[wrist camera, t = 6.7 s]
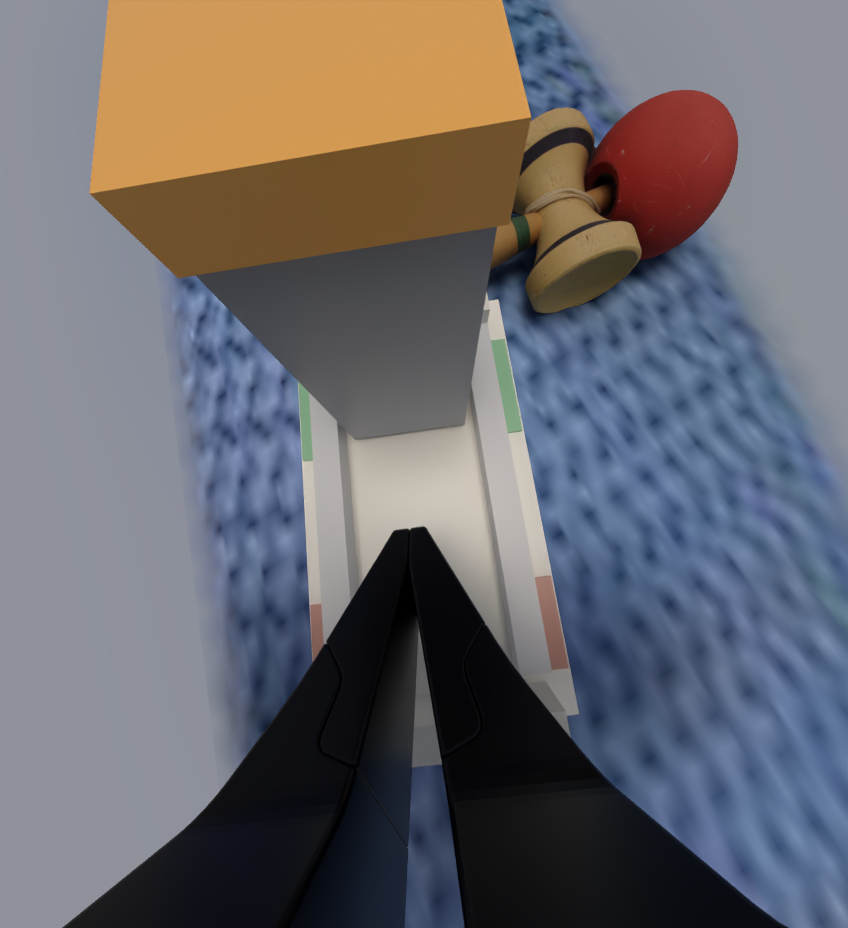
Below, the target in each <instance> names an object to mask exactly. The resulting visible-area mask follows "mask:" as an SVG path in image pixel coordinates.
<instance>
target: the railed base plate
mask: <svg viewBox="0 0 848 928" xmlns="http://www.w3.org/2000/svg"><path fill="white" fill-rule="evenodd" d="M298 391H299V410H300V430H301V449H302V468H303V488H304V507H305V527H306V546H307V565H308V585H309V604H310V624H311V643H312V662H313V661H314V660H315V658H316V657H317V655H318V653H319V652H320V650H321V648H322V647H323V645H324V644H327V643H326V640H327V639H328V637H329V635H330V634H331V632H332V631H333V629H334V627H335V626H336V624H337V622H338V621H339V619H340V617H341V616H342V614H343V613H344V611H345V609H346V608H347V606H348V604H349V603H350V601H351V599H352V598H353V596H354V595H355V593H356V591H357V590H358V588H359V586H360V585H361V583H362V581H363V580H364V578H365V576H366V575H367V573H368V572H369V570H370V568H371V567H372V565H373V563H374V562H375V560H376V558H377V557H378V555H379V554H380V552H381V550H382V549H383V547H384V545H385V544H386V542H387V540H388V539H389V537H390V536H391V534H392V532H393V531H394V530H398V529H405V528H408V529H409V530H410V529H411V528H413V527H421V526H425V527H426V528H427V529H428V531H429V533H430V534H431V536H432V537H433V539H434V541H435V542H436V544H437V546H438V547H439V549H440V550H441V552H442V554H443V555H444V557H445V558H446V560H447V562H448V563H449V565H450V567H451V568H452V570H453V571H454V573H455V575H456V576H457V578H458V579H459V581H460V583H461V584H462V586H463V588H464V589H465V591H466V592H467V594H468V596H469V597H470V599H471V600H472V602H473V604H474V605H475V607H476V609H477V610H478V612H479V613H480V615H481V617H482V618H483V620H484V621H485V625H487V626H488V628H489V629H490V631H491V632H492V634H493V636H494V637H495V639H496V640H497V642H498V643H499V645H500V646H501V648H502V649H503V651H504V652H505V654H506V655H507V657H508V658H509V660H510V661H511V663H512V664H513V665H514V667H515V668H516V669H517V671H518V672H519V673H520V675H521V676H522V677H523V679H524V680H525V681H526V683H527V684H528V685H529V686H530V688H531V689H532V690H533V691H534V693H535V694H536V695H537V696H538V698H539V699H540V700H541V701H542V703H543V704H544V705H545V706H546V708H547V709H548V710H549V711H550V712H551V714H552V715H553V716H554V717H555V719H556V720H557V721H558V722H559V724H560V725H561V726H562V727H563V729H564V730H565V731H566V732H567V734H568V735H569V736H570V731H569V725H568V720H567V716H569V715H579V711H578V706H577V700H576V695H575V690H574V685H573V680H572V675H571V670H570V665H569V659H568V654H567V649H566V644H565V639H564V634H563V629H562V624H561V619H560V613H559V608H558V603H557V598H556V593H555V588H554V583H553V578H552V572H551V567H550V562H549V557H548V552H547V547H546V542H545V537H544V532H543V526H542V521H541V516H540V511H539V506H538V501H537V496H536V491H535V485H534V480H533V475H532V470H531V465H530V460H529V455H528V450H527V445H526V439H525V434H524V429H523V424H522V419H521V414H520V409H519V404H518V398H517V393H516V388H515V383H514V378H513V373H512V368H511V363H510V358H509V352H508V347H507V342H506V337H505V332H504V327H503V322H502V317H501V311H500V306H499V301H498V300H492V301H488V295H487V291H486V298H485V304H484V310H483V316H482V322H481V328H480V334H479V340H478V346H477V352H476V358H475V364H474V370H473V376H472V382H471V388H470V394H469V400H468V406H467V413H466V419H465V424H462V425H455V426H448V427H441V428H434V429H426V430H419V431H412V432H405V433H398V434H391V435H384V436H377V437H369V438H362V439H354V438H353V437H352V436H351V435H350V434H349V433H348V432H347V431H346V430H345V429H344V428H343V427H342V426H341V425H340V424H339V423H338V422H337V421H336V420H335V419H334V418H333V417H332V416H331V415H330V413H329V412H328V411H327V410H326V409H325V408H324V407H323V406H322V405H321V404H320V403H319V402H318V401H317V400H316V399H315V398H314V397H313V396H312V395H311V394H310V393H309V392H308V391H307V390H306V389H305V388H304V387H303V386H302V385H301V384H300V383H299V381H298ZM570 737H571V736H570ZM432 765H442V760H441V756H440V750H439V745H438V739H437V733H436V727H435V721H434V715H433V709H432V703H431V697H430V691H429V685H428V679H427V673H426V667H425V661H424V655H423V649H422V643H421V638H420V632H419V633H418V654H417V675H416V695H415V716H414V737H413V757H412V768H413V767H422V766H432Z"/></svg>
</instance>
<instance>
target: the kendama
mask: <svg viewBox="0 0 848 928" xmlns="http://www.w3.org/2000/svg"><path fill="white" fill-rule="evenodd" d="M737 153H738V136H737V130H736V127H735V123H734V120H733V118H732V116H731V114H730V113H729V111H728V110H727V108H726V107H725V106H724V105H723V104H722V103H721V102H720V101H719V100H717V99H716V98H714V97H712V96H711V95H709V94H706V93H703V92H700V91H694V90H679V91H671V92H667V93H664V94H661V95H658V96H655V97H653V98H651V99H649V100H647V101H645V102H644V103H642V104H640V105H638V106H637V107H635V108H634V109H632V110H631V111H630V112H628V113H627V114H626V115H625V116H624V117H623V118H621V119H620V120H619V121H618V122H617V123H616V124H615V125H614V126H613V127H612V128H611V129H610V131H609V132H608V133H607V134H606V135H605V137H604V138H603V140H602V141H601V142H600V144H599V145H598V147H597V148H595V147H594V135H593V132H592V130H591V128H590V126H589V124H588V122H587V120H586V118H585V117H584V115H583V114H582V113H581V112H580V111H578V110H575V109H573V108H572V109H570V108H557V109H554V110H551V111H548V112H546V113H543V114H542V115H540V116H538V117H537V118H535V119H534V120H532V121H531V122H530V126H529V131H528V136H527V141H526V145H525V150H524V155H523V160H522V165H521V170H520V175H519V180H518V185H517V190H516V195H515V199H514V204H513V209H512V213H515V214H519V215H521V216H518V217H513V218H511V219H510V224H509V225H504V226H498V227H497V231H496V237H495V243H494V249H493V255H492V261H491V267H490V270H491V269H493V268H495V267H496V266H498V265H500V264H502V263H503V262H505V261H507V260H509V259H511V258H512V257H513V256H515V255H517V254H519V253H520V252H522V251H524V250H526V249H527V248H529V247H531V246H533V245H534V244H536V243H537V253H536V259H535V263H534V266H533V268H532V271H531V273H530V275H529V276H528V278H527V280H526V285H525V288H526V291H527V294H528V296H529V299H530V302H531V304H532V306H533V309H534V310H535V311H536V312H539V313H555V312H558V311H560V310H563V309H565V308H569V307H574V306H579V305H581V304H583V303H585V302H588V301H590V300H592V299H594V298H595V297H597V296H599V295H601V294H602V293H604V292H606V291H607V290H609V289H610V288H612V287H613V286H614V285H616V284H617V283H618V282H620V281H621V280H622V279H623V278H624V277H626V276H627V275H628V274H629V273H630V272H631V270H632V269H633V268H634V267H635V266H636V264H637V263H638V261H639V260H645V259H649V258H652V257H655V256H658V255H660V254H662V253H665V252H667V251H669V250H671V249H672V248H674V247H676V246H678V245H679V244H681V243H682V242H683V241H685V240H686V239H687V238H689V237H690V236H691V235H692V234H693V233H695V232H696V231H697V230H698V229H699V228H700V227H701V226H702V225H703V224H704V223H705V221H706V220H707V219H708V218H709V217H710V216H711V214H712V213H713V212H714V210H715V209H716V208H717V206H718V205H719V203H720V201H721V200H722V198H723V196H724V194H725V193H726V190H727V188H728V187H729V184H730V182H731V179H732V176H733V174H734V170H735V165H736V161H737Z"/></svg>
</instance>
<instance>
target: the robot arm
mask: <svg viewBox="0 0 848 928" xmlns="http://www.w3.org/2000/svg"><path fill="white" fill-rule="evenodd" d="M419 632H420V638H421V643H422V649H423V655H424V661H425V667H426V673H427V679H428V685H429V691H430V697H431V703H432V709H433V715H434V721H435V727H436V733H437V739H438V745H439V750H440V756H441V760H442V768H443V774H444V781H445V787H446V793H447V800H448V806H449V814H450V821H451V828H452V836H453V843H454V851H455V858H456V866H457V874H458V881H459V889H460V896H461V904H462V911H463V919H464V926H465V928H788V927H787V926H785V925H783V924H781V923H780V922H778V921H777V920H775V919H774V918H773V917H771V916H770V915H769V914H767V913H766V912H765V911H763V910H762V909H761V908H759V907H758V906H757V905H755V904H754V903H753V902H751V901H750V900H749V899H748V898H747V897H746V896H744V895H743V894H742V893H741V892H740V891H738V890H737V889H736V888H735V887H734V886H732V885H731V884H730V883H729V882H728V881H726V880H725V879H724V878H723V877H722V876H721V875H719V874H718V873H717V872H716V871H715V870H713V869H712V868H711V867H710V866H709V865H707V864H706V863H705V862H704V861H703V860H701V859H700V858H699V857H698V856H697V855H696V854H694V853H693V852H692V851H691V850H690V849H688V848H687V847H686V846H685V845H684V844H682V843H681V842H680V841H679V840H678V839H676V838H675V837H674V836H673V835H672V834H671V833H669V832H668V831H667V830H666V829H665V828H663V827H662V826H661V825H660V824H659V823H657V822H656V821H655V820H654V819H653V818H651V817H650V816H649V815H648V814H647V813H646V812H644V811H643V810H642V809H641V808H640V807H638V806H637V805H636V804H635V803H634V802H632V801H631V800H630V799H629V798H628V797H626V796H625V795H624V794H623V793H622V792H621V791H619V790H618V789H617V788H616V787H615V786H614V785H613V784H612V783H611V782H610V781H609V780H608V779H607V778H606V777H605V776H604V775H603V774H602V773H601V772H600V771H599V770H598V769H597V768H596V767H595V766H594V765H593V763H592V762H591V761H590V760H589V759H588V758H587V757H586V756H585V754H584V753H583V752H582V751H581V750H580V748H579V747H578V746H577V745H576V744H575V742H574V741H573V740H572V739H571V737H570V736H569V735H568V734H567V732H566V731H565V730H564V729H563V727H562V726H561V725H560V724H559V722H558V721H557V720H556V719H555V717H554V716H553V715H552V714H551V712H550V711H549V710H548V709H547V708H546V706H545V705H544V704H543V703H542V701H541V700H540V699H539V698H538V696H537V695H536V694H535V693H534V691H533V690H532V689H531V688H530V686H529V685H528V684H527V683H526V681H525V680H524V679H523V677H522V676H521V675H520V673H519V672H518V671H517V669H516V668H515V667H514V665H513V664H512V663H511V661H510V660H509V658H508V657H507V655H506V654H505V652H504V651H503V649H502V648H501V646H500V645H499V643H498V642H497V640H496V639H495V637H494V636H493V634H492V632H491V631H490V629H489V628H488V626H487V625H485V621H484V620H483V618H482V617H481V615H480V613H479V612H478V610H477V609H476V607H475V605H474V604H473V602H472V600H471V599H470V597H469V596H468V594H467V592H466V591H465V589H464V588H463V586H462V584H461V583H460V581H459V579H458V578H457V576H456V575H455V573H454V571H453V570H452V568H451V567H450V565H449V563H448V562H447V560H446V558H445V557H444V555H443V554H442V552H441V550H440V549H439V547H438V546H437V544H436V542H435V541H434V539H433V537H432V536H431V534H430V533H429V531H428V529H427V528H426V527H425V526H421V527H413V528H411V529H410V530H409V529H408V528H405V529H398V530H394V531H393V532H392V534H391V536H390V537H389V539H388V540H387V542H386V544H385V545H384V547H383V549H382V550H381V552H380V554H379V555H378V557H377V558H376V560H375V562H374V563H373V565H372V567H371V568H370V570H369V572H368V573H367V575H366V576H365V578H364V580H363V581H362V583H361V585H360V586H359V588H358V590H357V591H356V593H355V595H354V596H353V598H352V599H351V601H350V603H349V604H348V606H347V608H346V609H345V611H344V613H343V614H342V616H341V617H340V619H339V621H338V622H337V624H336V626H335V627H334V629H333V631H332V632H331V634H330V635H329V637H328V639H327V640H326V643H327V644H324V645H323V647H322V648H321V650H320V652H319V653H318V655H317V657H316V658H315V660H314V661H313V663H312V664H311V666H310V668H309V669H308V671H307V672H306V674H305V675H304V677H303V678H302V680H301V681H300V683H299V685H298V686H297V687H296V689H295V690H294V692H293V693H292V694H291V696H290V697H289V699H288V700H287V701H286V703H285V704H284V706H283V707H282V708H281V710H280V711H279V713H278V714H277V715H276V717H275V718H274V719H273V721H272V722H271V723H270V725H269V726H268V727H267V729H266V730H265V731H264V733H263V734H262V735H261V737H260V738H259V740H258V741H257V742H256V744H255V745H254V746H253V748H252V749H251V750H250V752H249V753H248V754H247V756H246V757H245V758H244V760H243V761H242V762H241V764H240V765H239V766H238V768H237V769H236V771H235V772H234V773H233V775H232V776H231V777H230V779H229V780H228V781H227V783H226V784H225V785H224V786H223V788H222V789H221V790H220V792H219V793H218V794H217V795H216V796H215V798H214V799H213V800H212V801H211V802H210V803H209V804H208V806H207V807H206V808H205V809H204V810H203V811H202V812H201V813H200V814H199V815H198V816H197V817H196V818H195V819H194V820H193V821H192V822H191V823H190V824H189V825H188V826H187V827H186V828H185V829H184V830H183V831H181V832H180V833H179V834H178V835H177V836H175V837H174V838H173V839H172V840H170V841H169V842H168V843H167V844H166V845H164V846H163V847H162V848H161V849H159V850H158V851H157V852H156V853H154V854H153V855H152V856H151V857H149V858H148V859H147V860H146V861H145V862H143V863H142V864H141V865H139V866H138V867H137V868H136V869H134V870H133V871H132V872H131V873H130V874H129V875H127V876H126V877H125V878H123V879H122V880H121V881H120V882H118V884H116V885H115V886H113V887H112V888H111V889H110V890H109V891H107V892H106V893H105V894H104V895H102V896H101V897H100V898H99V899H97V900H96V901H95V902H94V903H92V904H91V905H90V906H89V907H87V908H86V909H85V910H84V911H82V912H81V913H80V914H79V915H78V916H76V917H75V918H74V919H73V920H71V921H70V922H69V923H68V924H66V925H65V926H64V927H63V928H404V924H405V903H406V883H407V862H408V848H407V846H408V840H409V819H410V799H411V778H412V757H413V737H414V716H415V695H416V675H417V654H418V633H419Z"/></svg>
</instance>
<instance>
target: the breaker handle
mask: <svg viewBox="0 0 848 928" xmlns="http://www.w3.org/2000/svg"><path fill="white" fill-rule="evenodd" d="M530 121H531V114H530V110H529V106H528V102H527V98H526V94H525V90H524V86H523V82H522V79H521V75H520V71H519V67H518V63H517V59H516V55H515V51H514V47H513V43H512V39H511V35H510V31H509V27H508V23H507V19H506V15H505V11H504V7H503V3H502V0H109V4H108V15H107V25H106V34H105V44H104V55H103V64H102V74H101V85H100V95H99V104H98V114H97V124H96V135H95V146H94V155H93V165H92V175H91V185H90V194H91V195H92V196H93V197H94V198H95V199H96V200H97V201H98V202H99V203H100V204H101V205H102V206H103V207H104V208H105V209H106V210H107V211H108V212H109V213H110V214H112V215H113V216H114V217H115V218H116V219H117V220H118V221H119V222H120V223H121V224H122V225H123V226H124V227H125V228H126V229H127V230H129V232H130V233H131V234H133V235H134V236H135V237H136V238H137V239H138V240H139V241H140V242H141V243H142V244H143V245H144V246H145V247H146V248H147V249H148V250H149V251H150V252H151V253H152V254H153V255H154V256H156V257H157V258H158V259H159V260H160V261H161V262H162V263H163V264H164V265H165V266H166V267H167V268H168V269H169V270H170V271H171V272H172V273H173V274H174V275H175V276H176V277H178V278H182V277H188V276H195V275H196V276H197V277H198V278H199V279H200V280H201V281H202V282H203V283H204V284H205V285H206V287H207V288H208V289H209V290H210V291H211V292H212V293H213V294H214V295H215V296H216V297H217V298H218V299H219V300H220V301H221V302H222V303H223V304H224V305H225V306H226V307H227V308H228V309H229V310H230V311H231V312H232V313H233V314H234V315H235V316H236V317H237V319H238V320H239V321H240V322H241V323H242V324H243V325H244V326H245V327H246V328H247V329H248V330H249V331H250V332H251V333H252V334H253V335H254V336H255V337H256V338H257V339H258V340H259V341H260V342H261V343H262V344H263V345H264V346H265V347H266V348H267V349H268V351H269V352H270V353H271V354H272V355H273V356H274V357H275V358H276V359H277V360H278V361H279V362H280V363H281V364H282V365H283V366H284V367H285V368H286V369H287V370H288V371H289V372H290V373H291V374H292V375H293V376H294V377H295V378H296V379H297V380H298V381H299V383H300V384H301V385H302V386H303V387H304V388H305V389H306V390H307V391H308V392H309V393H310V394H311V395H312V396H313V397H314V398H315V399H316V400H317V401H318V402H319V403H320V404H321V405H322V406H323V407H324V408H325V409H326V410H327V411H328V412H329V413H330V415H331V416H332V417H333V418H334V419H335V420H336V421H337V422H338V423H339V424H340V425H341V426H342V427H343V428H344V429H345V430H346V431H347V432H348V433H349V434H350V435H351V436H352V437H353V438H354V439H362V438H369V437H377V436H384V435H391V434H398V433H405V432H412V431H419V430H426V429H434V428H441V427H448V426H455V425H462V424H465V419H466V413H467V406H468V400H469V394H470V388H471V382H472V376H473V370H474V364H475V358H476V352H477V346H478V340H479V334H480V328H481V322H482V316H483V310H484V304H485V298H486V291H487V285H488V279H489V273H490V267H491V261H492V255H493V249H494V243H495V237H496V231H497V227H498V226H504V225H509V224H510V219H511V214H512V209H513V204H514V199H515V195H516V190H517V185H518V180H519V175H520V170H521V165H522V160H523V155H524V150H525V145H526V141H527V136H528V131H529V126H530Z"/></svg>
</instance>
